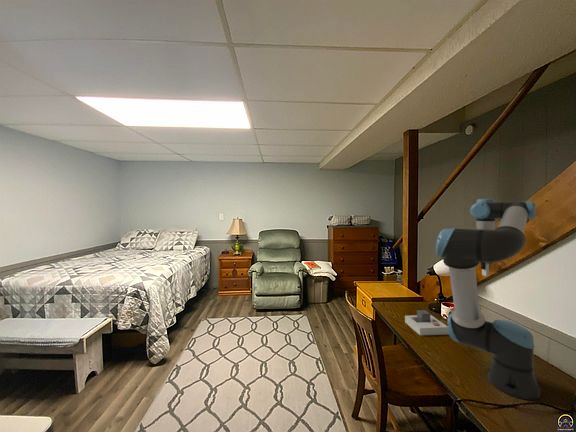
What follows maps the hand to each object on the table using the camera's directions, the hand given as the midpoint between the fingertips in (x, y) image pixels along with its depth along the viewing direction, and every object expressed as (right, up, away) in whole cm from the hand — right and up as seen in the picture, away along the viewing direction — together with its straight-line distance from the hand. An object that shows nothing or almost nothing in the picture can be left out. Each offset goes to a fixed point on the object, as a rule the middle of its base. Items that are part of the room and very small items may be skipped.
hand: (485, 275), depth 126 cm
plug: (-21, -34, +19) cm, 44 cm away
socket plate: (-21, -34, +17) cm, 44 cm away
